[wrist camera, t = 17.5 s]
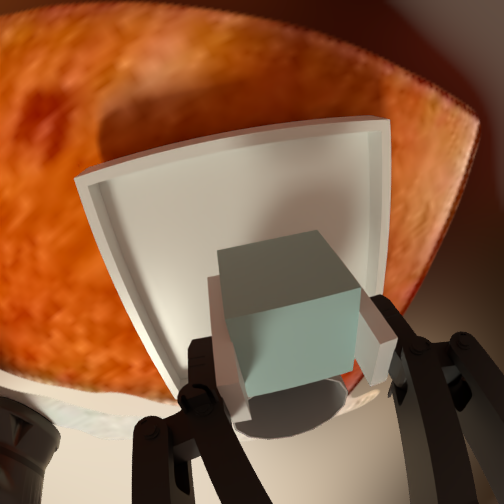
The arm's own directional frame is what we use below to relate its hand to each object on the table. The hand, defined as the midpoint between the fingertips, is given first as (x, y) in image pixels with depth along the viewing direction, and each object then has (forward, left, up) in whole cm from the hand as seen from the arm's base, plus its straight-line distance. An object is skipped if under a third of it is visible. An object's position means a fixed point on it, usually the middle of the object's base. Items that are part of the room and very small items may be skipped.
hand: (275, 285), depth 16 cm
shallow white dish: (0, -5, -11) cm, 12 cm away
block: (0, 0, 0) cm, 0 cm away
